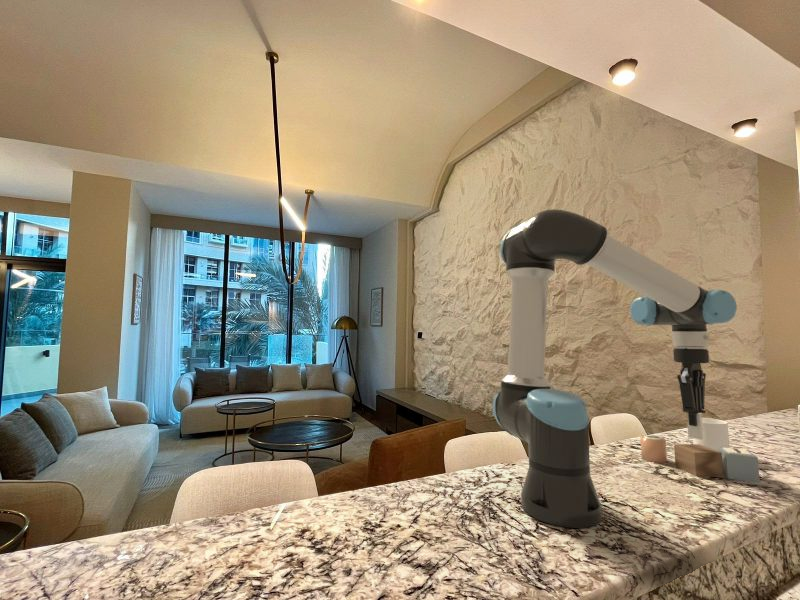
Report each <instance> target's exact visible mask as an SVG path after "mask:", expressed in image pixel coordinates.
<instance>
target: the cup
mask: <svg viewBox="0 0 800 600" xmlns="http://www.w3.org/2000/svg"><path fill="white" fill-rule="evenodd" d="M702 431H703V439H701V440H700V439H695V438H692V443H693V444H700V445H703V446H705V447H708V448H711V449H714V450H716V451H718V447H719V448H731V447H730V435H729V434H730V433H729V424H728V422H727V421H726V420H722V419H717V418H711V417H702Z"/></svg>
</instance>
